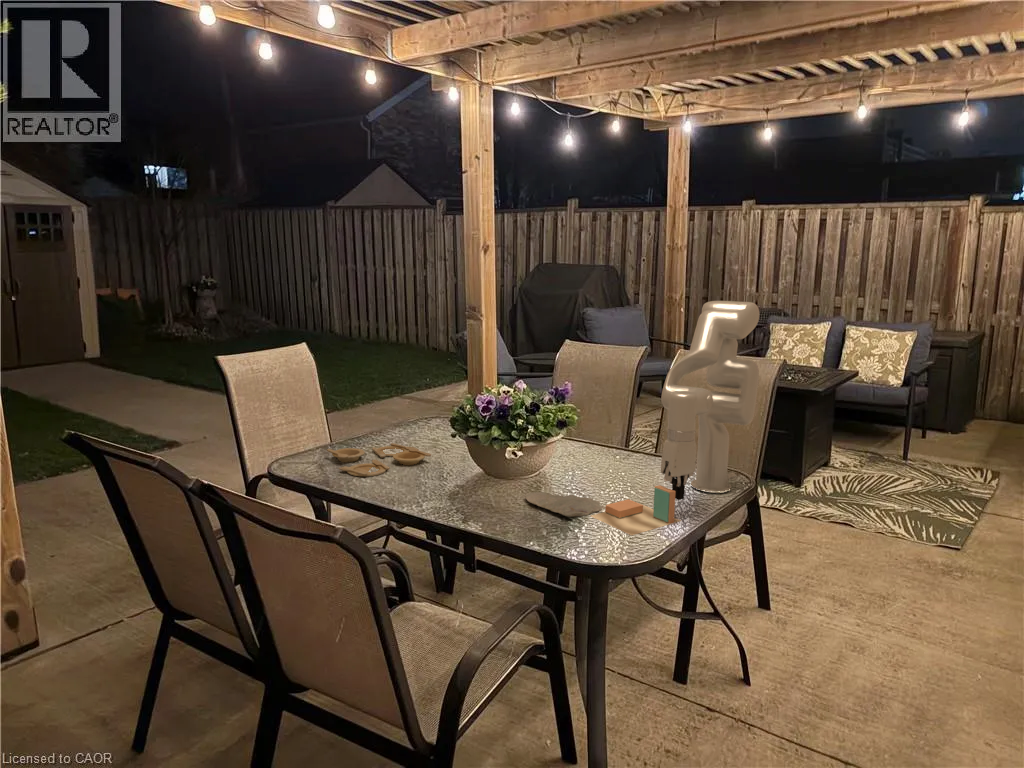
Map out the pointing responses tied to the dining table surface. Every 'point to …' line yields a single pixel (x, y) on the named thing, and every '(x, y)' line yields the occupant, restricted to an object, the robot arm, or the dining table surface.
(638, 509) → the tile
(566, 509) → the stone tool
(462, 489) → the dining table surface
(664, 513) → the tile
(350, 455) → the tableware set
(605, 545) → the dining table surface
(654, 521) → the board
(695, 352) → the robot arm
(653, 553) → the dining table surface
